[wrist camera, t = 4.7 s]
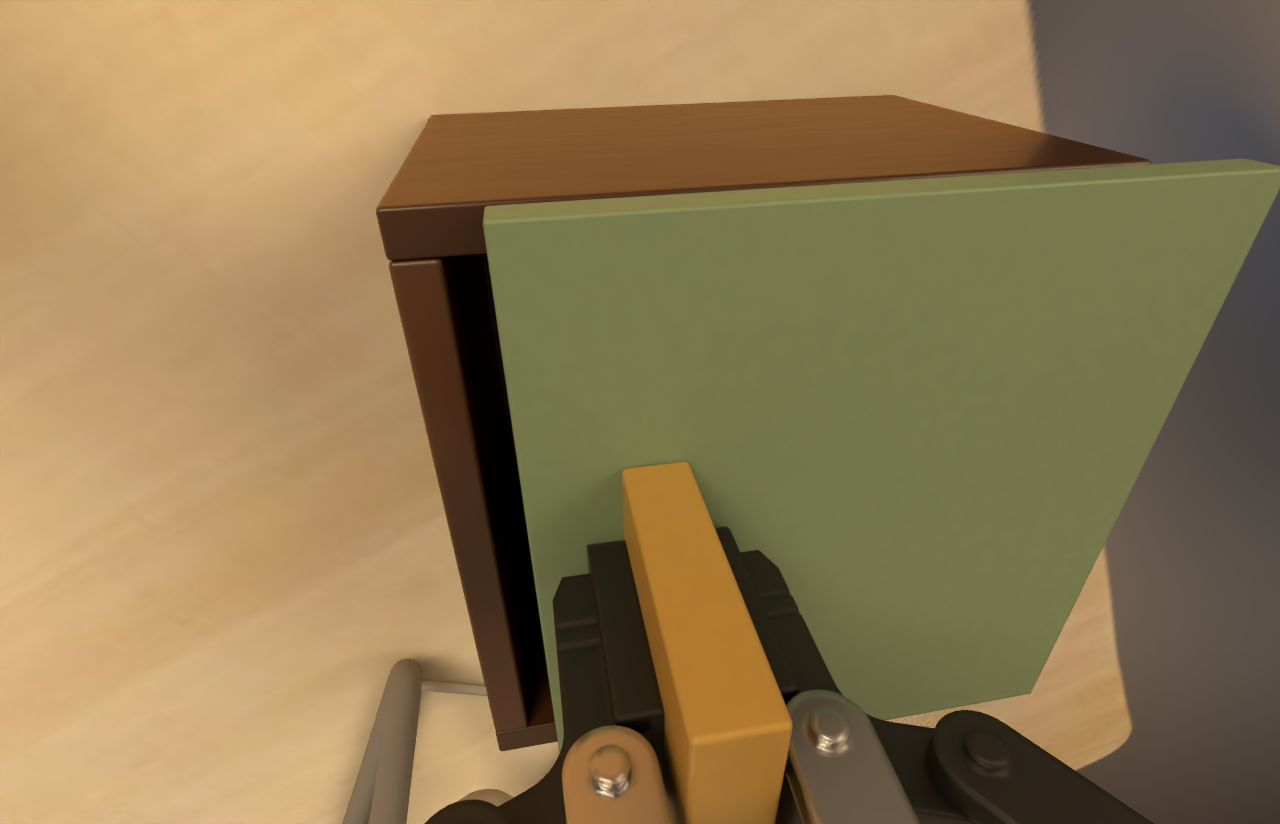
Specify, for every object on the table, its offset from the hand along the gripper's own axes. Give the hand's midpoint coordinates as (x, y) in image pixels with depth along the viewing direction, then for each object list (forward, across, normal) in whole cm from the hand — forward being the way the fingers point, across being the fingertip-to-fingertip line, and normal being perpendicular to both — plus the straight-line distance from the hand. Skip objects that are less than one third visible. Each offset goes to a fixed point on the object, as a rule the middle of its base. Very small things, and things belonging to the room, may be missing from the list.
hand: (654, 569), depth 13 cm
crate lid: (+1, -4, 0) cm, 4 cm away
